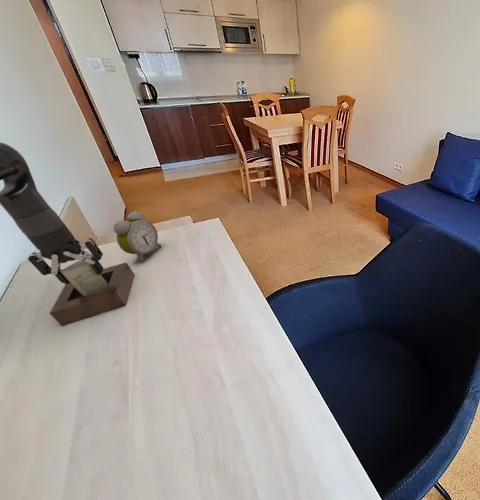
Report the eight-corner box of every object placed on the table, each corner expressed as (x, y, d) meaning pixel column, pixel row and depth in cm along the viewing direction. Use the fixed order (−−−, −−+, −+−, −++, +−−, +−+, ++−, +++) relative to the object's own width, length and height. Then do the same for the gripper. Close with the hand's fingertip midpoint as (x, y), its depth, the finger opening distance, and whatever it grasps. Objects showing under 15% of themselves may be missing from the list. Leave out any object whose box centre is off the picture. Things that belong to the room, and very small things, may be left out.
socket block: (61, 326, 81) (49, 313, 78) (79, 290, 93) (68, 278, 90) (125, 305, 85) (116, 292, 82) (134, 274, 97) (126, 262, 94)
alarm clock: (143, 264, 101) (119, 226, 92) (126, 264, 102) (100, 226, 94) (165, 244, 110) (145, 208, 101) (149, 244, 111) (128, 208, 103)
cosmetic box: (109, 288, 92) (84, 257, 85) (116, 293, 90) (91, 261, 83) (86, 302, 88) (58, 270, 81) (93, 307, 86) (65, 275, 79)
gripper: (81, 213, 80) (116, 262, 89) (16, 229, 76) (59, 278, 85) (72, 226, 74) (110, 276, 83) (1, 243, 70) (49, 294, 80)
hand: (84, 277), depth 84 cm, fingers closed on cosmetic box, 7 cm apart
